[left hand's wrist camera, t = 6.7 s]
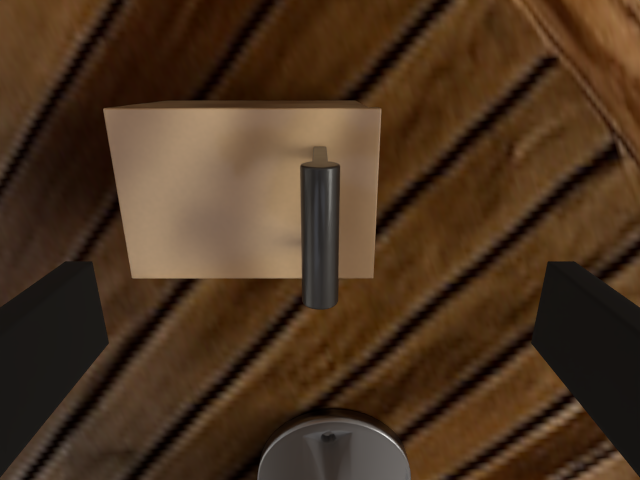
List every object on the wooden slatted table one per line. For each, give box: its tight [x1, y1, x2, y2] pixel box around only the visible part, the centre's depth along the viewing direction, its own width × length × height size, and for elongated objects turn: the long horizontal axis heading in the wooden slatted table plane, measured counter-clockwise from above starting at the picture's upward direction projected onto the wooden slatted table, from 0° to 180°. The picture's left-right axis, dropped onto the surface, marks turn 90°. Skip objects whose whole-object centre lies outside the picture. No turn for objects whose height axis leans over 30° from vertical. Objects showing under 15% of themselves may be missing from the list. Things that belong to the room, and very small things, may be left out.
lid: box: [103, 107, 381, 309], centre depth 21 cm, size 14×10×8 cm
